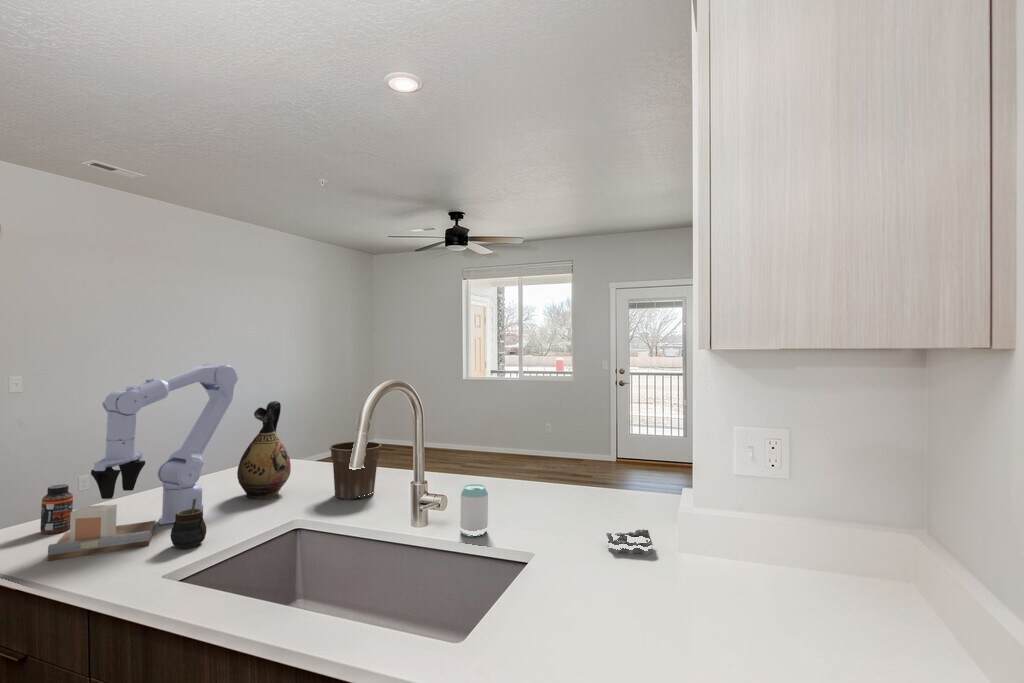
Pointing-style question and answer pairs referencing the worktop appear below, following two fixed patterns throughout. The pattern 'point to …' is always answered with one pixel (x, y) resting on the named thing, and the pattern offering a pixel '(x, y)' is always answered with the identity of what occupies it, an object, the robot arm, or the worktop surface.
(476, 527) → the can
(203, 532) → the mate gourd
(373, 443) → the plant pot
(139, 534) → the rail
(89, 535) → the carton
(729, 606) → the worktop surface
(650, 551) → the egg carton
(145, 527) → the brown flat panel
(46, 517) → the supplement bottle
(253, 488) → the ceramic jug
